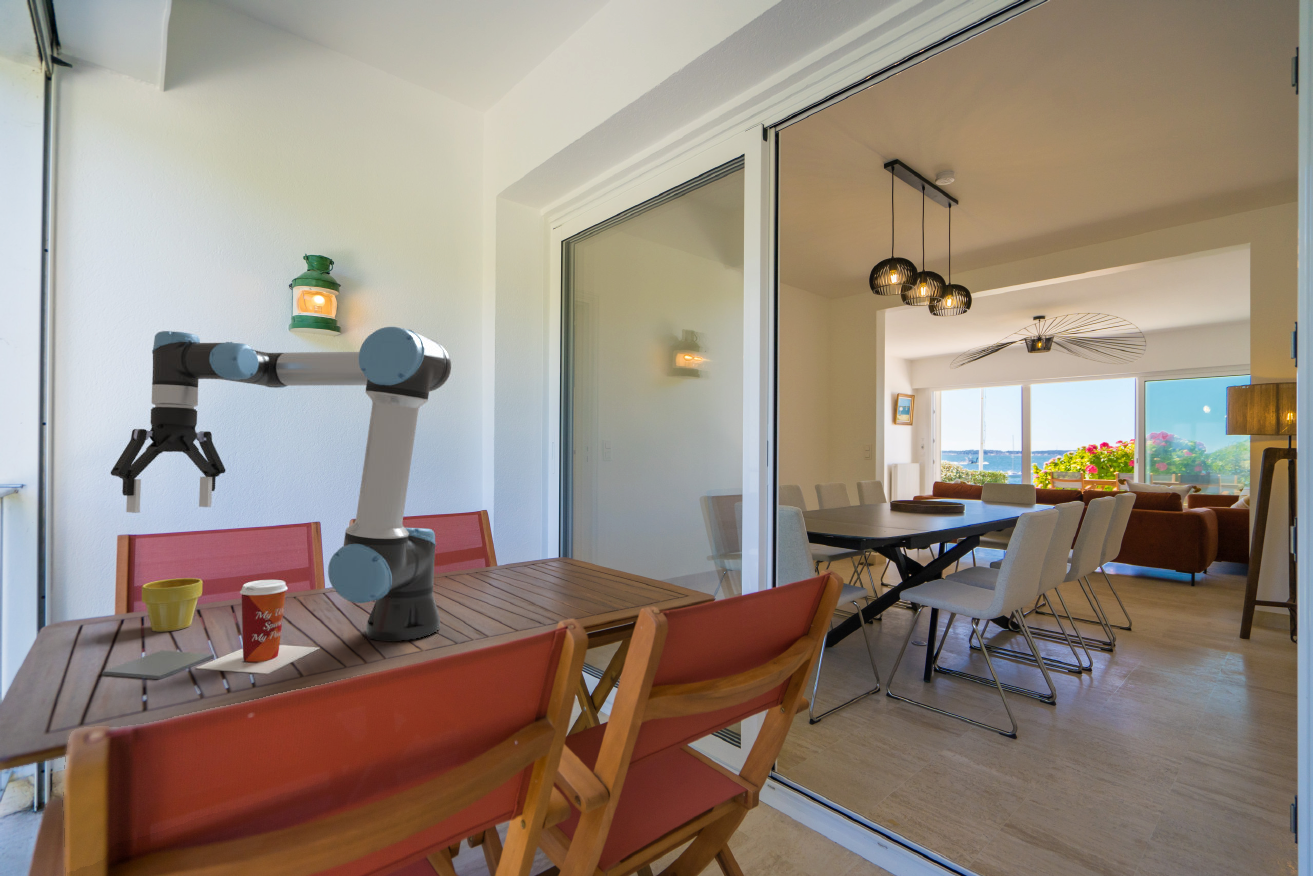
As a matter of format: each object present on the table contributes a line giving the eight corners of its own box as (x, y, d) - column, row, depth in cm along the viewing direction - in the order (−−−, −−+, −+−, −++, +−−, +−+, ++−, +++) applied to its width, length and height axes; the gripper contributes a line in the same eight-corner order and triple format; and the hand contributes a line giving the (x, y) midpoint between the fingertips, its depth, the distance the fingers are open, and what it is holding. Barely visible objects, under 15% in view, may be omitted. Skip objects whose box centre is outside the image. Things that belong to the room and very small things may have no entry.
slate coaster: (213, 657, 114) (213, 654, 114) (160, 679, 103) (160, 675, 103) (161, 653, 115) (161, 650, 115) (102, 674, 104) (102, 671, 104)
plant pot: (128, 630, 128) (130, 584, 128) (182, 618, 137) (184, 575, 138) (158, 637, 124) (160, 590, 124) (211, 624, 134) (213, 580, 134)
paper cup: (261, 666, 110) (264, 589, 110) (225, 661, 111) (229, 586, 112) (294, 652, 117) (298, 580, 118) (261, 648, 119) (264, 577, 119)
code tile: (319, 648, 121) (319, 647, 121) (267, 674, 107) (267, 673, 107) (255, 644, 122) (255, 643, 122) (195, 668, 108) (195, 667, 108)
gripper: (222, 411, 138) (219, 504, 137) (90, 402, 114) (85, 514, 114) (246, 411, 135) (243, 505, 135) (115, 401, 112) (110, 516, 111)
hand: (170, 509), depth 124 cm, fingers open, 13 cm apart
